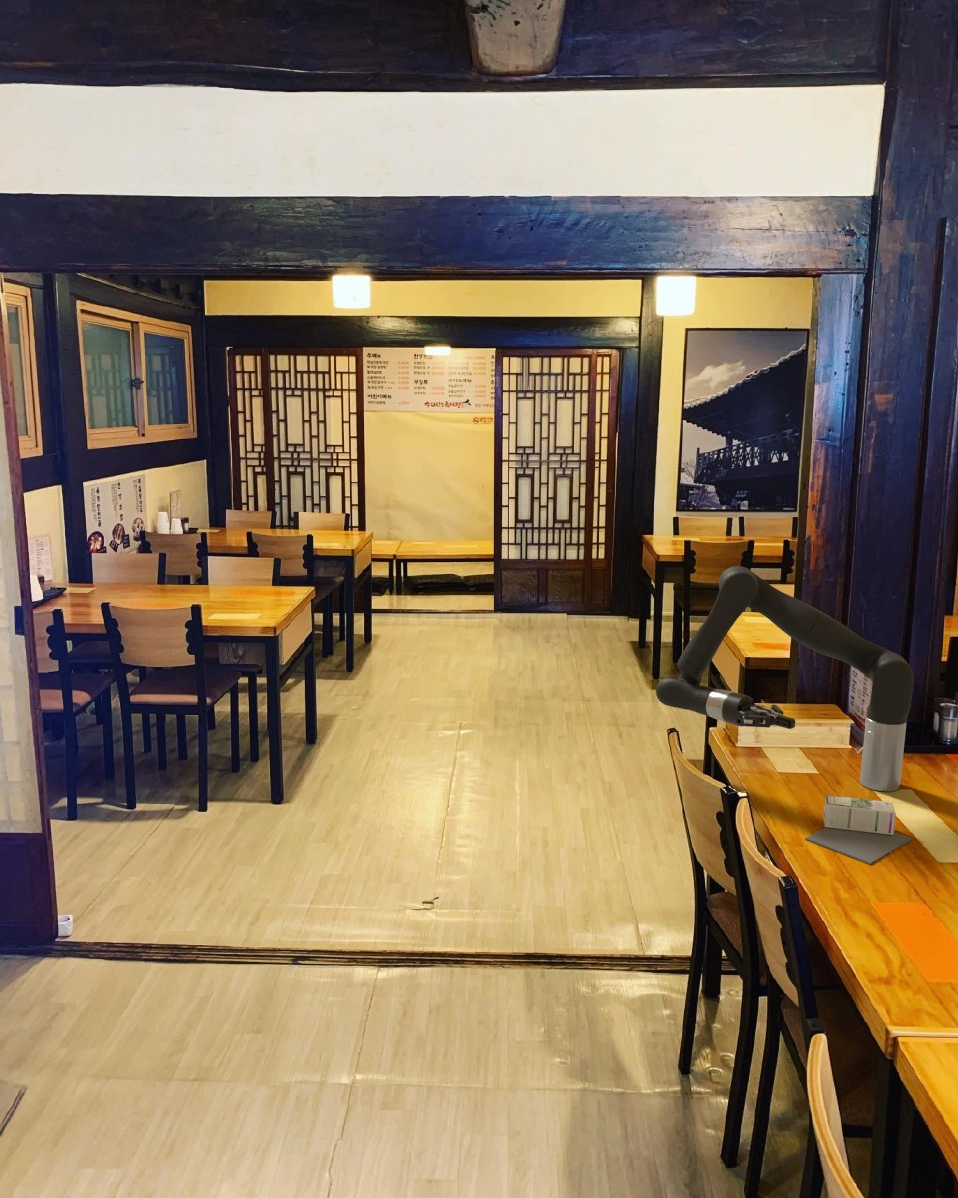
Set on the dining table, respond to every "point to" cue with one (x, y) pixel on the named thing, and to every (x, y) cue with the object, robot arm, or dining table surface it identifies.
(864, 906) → the dining table surface
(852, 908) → the dining table surface
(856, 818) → the syrup box
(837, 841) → the mat
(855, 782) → the dining table surface
